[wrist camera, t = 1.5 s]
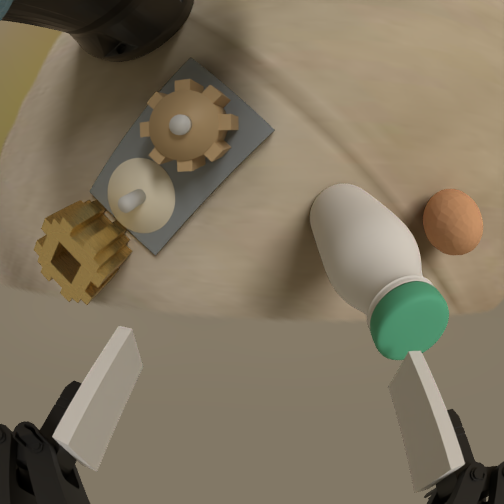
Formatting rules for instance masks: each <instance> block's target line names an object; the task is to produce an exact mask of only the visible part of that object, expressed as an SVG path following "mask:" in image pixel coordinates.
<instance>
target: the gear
mask: <svg viewBox="0 0 504 504" xmlns="http://www.w3.org/2000/svg"><path fill="white" fill-rule="evenodd" d="M105 210H106V208H105V207H104V206H103V205H102V204H101V203H100V202H99V201H98V200H95V201H93V202H91V201H90V200H88V201H86V202H84V203H83V202H82V201H81V200H80V201H78V202H76V203H74V204H72V205H70V206H68V207H66V208H64V209H62V210H60V211H58V212H56V213H54V214H52V215H50V216H48V217H47V218H45V220H44V223H43V225H42V228H41V229H42V230H43V231H44V232H45V234H46V235H45V236H44V237H42V238H40V239H39V240H37V242H36V245H35V248H34V251H35V252H36V253H37V254H38V255H39V258H38V262H39V264H40V265H41V266H42V270H41V273H42V274H43V275H44V277H45V278H46V279H47V280H48V281H50V280H52V279H54V280H55V281H56V282H57V283H58V284H59V285H60V286H61V287H62V290H61V292H60V293H61V294H62V295H63V296H64V297H65V298H66V299H67V300H68V301H69V302H70V301H71V300H72V299H74V300H75V301H76V302H77V303H79V301H80V300H82V301H83V302H84V303H85V304H86V305H88V304H89V303H90V302H91V300H92V299H93V298H94V297H95V296H96V295H97V294H98V293H99V292H100V291H101V289H102V288H103V287H104V286H105V285H106V284H107V283H108V282H109V281H110V280H111V279H112V278H113V277H114V275H115V274H116V273H117V271H118V270H119V268H118V267H119V266H120V265H121V264H122V263H123V262H124V261H125V260H126V259H127V257H128V256H129V255H130V253H131V252H132V250H131V249H129V248H128V247H127V246H126V244H127V243H128V241H129V240H130V239H129V238H127V237H126V236H125V235H124V233H125V232H126V230H127V228H125V227H124V226H123V225H122V224H121V223H120V222H119V221H118V220H116V221H114V222H113V223H112V222H111V221H110V220H109V219H108V218H107V217H106V216H105V215H104V212H105Z"/></svg>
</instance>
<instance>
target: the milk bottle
mask: <svg viewBox="0 0 504 504" xmlns="http://www.w3.org/2000/svg"><path fill="white" fill-rule="evenodd" d="M310 224H311V228H312V232H313V235H314V238H315V241H316V244H317V247H318V250H319V253H320V256H321V259H322V262H323V265H324V268H325V271H326V273H327V276H328V278H329V280H330V282H331V284H332V286H333V287H334V289H335V291H336V292H337V293H338V294H339V296H340V297H341V298H342V299H343V300H344V301H346V302H347V303H348V304H349V305H351V306H352V307H354V308H356V309H358V310H359V311H361V312H363V313H364V314H366V315H367V324H368V327H369V329H370V331H371V335H372V338H373V341H374V343H375V346H376V348H377V349H378V351H379V352H380V353H381V354H382V355H383V356H384V357H386V358H389V359H392V360H404V359H405V357H406V355H407V353H408V351H421V352H422V353H423V352H425V351H426V350H428V349H429V348H430V347H432V346H433V345H434V344H435V343H436V342H437V340H438V339H439V338H440V337H441V335H442V333H443V332H444V330H445V328H446V326H447V323H448V319H449V310H448V306H447V303H446V301H445V300H444V298H443V297H442V295H441V294H440V293H439V291H438V290H437V289H436V288H435V287H434V286H433V284H432V283H431V282H430V281H429V280H428V279H427V278H425V277H423V275H422V267H421V257H420V252H419V248H418V245H417V243H416V241H415V239H414V236H413V235H412V233H411V232H410V230H409V229H408V228H407V226H406V225H405V224H404V223H403V222H402V221H401V220H400V219H399V218H398V217H397V216H396V215H395V214H394V213H392V212H391V211H390V210H389V209H388V208H386V207H385V206H384V205H383V204H382V203H380V202H379V201H378V200H376V199H375V198H374V197H372V196H371V195H370V194H368V193H367V192H366V191H364V190H363V189H361V188H359V187H358V186H355V185H352V184H346V183H342V184H336V185H332V186H330V187H328V188H326V189H325V190H323V191H322V192H321V193H320V194H319V195H318V196H317V198H316V199H315V201H314V203H313V205H312V207H311V211H310Z"/></svg>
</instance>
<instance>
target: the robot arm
mask: <svg viewBox="0 0 504 504" xmlns="http://www.w3.org/2000/svg"><path fill="white" fill-rule="evenodd" d="M193 2H194V0H0V20H4V21H12V22H19V23H25V24H30V25H35V26H40V27H45V28H49V29H54V30H58V31H62V32H66V33H69V34H70V35H71V36H72V37H73V38H74V39H75V40H76V41H77V42H78V43H79V44H80V46H81V47H82V48H83V49H84V50H85V51H86V52H88V53H89V54H91V55H92V56H95V57H97V58H101V59H104V60H108V61H116V62H118V61H127V60H132V59H135V58H138V57H141V56H143V55H145V54H147V53H149V52H151V51H153V50H155V49H156V48H158V47H159V46H161V45H162V44H163V43H165V42H166V41H167V40H168V39H169V38H170V37H172V36H173V35H174V34H175V33H176V31H177V30H178V29H179V28H180V27H181V26H182V24H183V23H184V21H185V20H186V18H187V17H188V15H189V13H190V11H191V8H192V5H193ZM142 368H143V364H142V361H141V358H140V354H139V351H138V347H137V344H136V340H135V336H134V332H133V329H132V328H127V327H123V326H118V328H117V329H116V331H115V332H114V334H113V335H112V337H111V338H110V340H109V341H108V343H107V345H106V346H105V347H104V349H103V350H102V352H101V354H100V355H99V357H98V358H97V360H96V361H95V363H94V365H93V366H92V368H91V370H90V371H89V373H88V375H87V376H86V378H85V379H84V381H83V383H82V384H81V383H79V382H76V381H73V382H71V383H70V384H69V385H68V386H66V387H65V389H64V390H63V392H62V394H61V395H60V398H59V399H58V400H57V402H56V405H54V407H53V408H52V410H51V412H50V414H49V415H48V417H47V419H46V421H45V422H44V424H43V426H42V428H41V429H40V430H38V429H37V427H36V426H35V425H34V424H32V423H30V422H21V423H19V424H18V425H17V426H16V427H15V429H14V431H13V432H12V431H11V430H10V429H9V428H7V427H6V425H2V424H0V504H90V502H89V500H88V497H87V495H86V492H85V490H84V487H83V485H82V482H81V479H80V476H79V474H78V471H77V468H76V466H75V463H76V460H77V461H78V462H79V463H80V464H82V465H83V466H85V467H88V468H89V469H92V470H94V471H97V470H98V467H99V465H100V463H101V460H102V458H103V455H104V453H105V451H106V448H107V446H108V443H109V441H110V439H111V436H112V434H113V432H114V429H115V427H116V425H117V423H118V420H119V418H120V415H121V414H122V411H123V409H124V407H125V405H126V402H127V400H128V398H129V396H130V394H131V392H132V389H133V387H134V385H135V383H136V381H137V379H138V377H139V375H140V373H141V370H142ZM388 387H389V391H390V394H391V397H392V401H393V404H394V408H395V411H396V415H397V419H398V422H399V426H400V430H401V434H402V437H403V442H404V446H405V450H406V455H407V459H408V463H409V468H410V473H411V477H412V483H413V488H414V493H417V492H420V491H423V490H426V489H429V488H430V487H432V486H433V485H435V484H436V488H435V489H433V490H432V491H430V492H428V493H427V494H426V495H425V496H424V498H426V497H428V496H430V495H431V497H429V498H428V499H429V501H428V502H427V504H504V462H502V463H501V464H500V465H498V466H492V467H484V465H483V464H481V463H478V462H476V461H475V460H474V457H473V454H472V452H471V448H470V445H469V443H468V439H467V437H466V435H465V431H464V428H463V427H462V423H461V421H460V418H459V416H458V415H457V414H456V412H455V411H454V410H453V409H450V410H446V407H445V404H444V402H443V400H442V397H441V395H440V392H439V390H438V387H437V385H436V383H435V381H434V378H433V376H432V374H431V372H430V369H429V367H428V365H427V363H426V361H425V359H424V357H423V354H422V352H421V351H408V353H407V355H406V357H405V359H404V361H403V362H402V364H401V366H400V368H399V369H398V371H397V373H396V374H395V376H394V378H393V379H392V381H391V383H390V384H389V386H388ZM487 496H489V498H488V501H487V502H486V497H487Z"/></svg>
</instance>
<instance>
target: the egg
mask: <svg viewBox="0 0 504 504" xmlns="http://www.w3.org/2000/svg"><path fill="white" fill-rule="evenodd" d="M423 226H424V230H425V233H426V236H427V238H428V240H429V241H430V242H431V244H432V245H433V246H434V247H436V248H437V249H438V250H440V251H441V252H443V253H445V254H449V255H463V254H465V253H468V252H470V251H472V250H473V249H474V248H475V247H476V246H477V245H478V243H479V242H480V239H481V237H482V233H483V221H482V216H481V213H480V211H479V208H478V206H477V205H476V203H475V202H474V201H473V199H472V198H471V197H469V196H468V195H467V194H465V193H464V192H461V191H459V190H456V189H445V190H441V191H439V192H437V193H436V194H435V195H433V196H432V197H431V198H430V200H429V201H428V203H427V205H426V207H425V210H424V215H423Z"/></svg>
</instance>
